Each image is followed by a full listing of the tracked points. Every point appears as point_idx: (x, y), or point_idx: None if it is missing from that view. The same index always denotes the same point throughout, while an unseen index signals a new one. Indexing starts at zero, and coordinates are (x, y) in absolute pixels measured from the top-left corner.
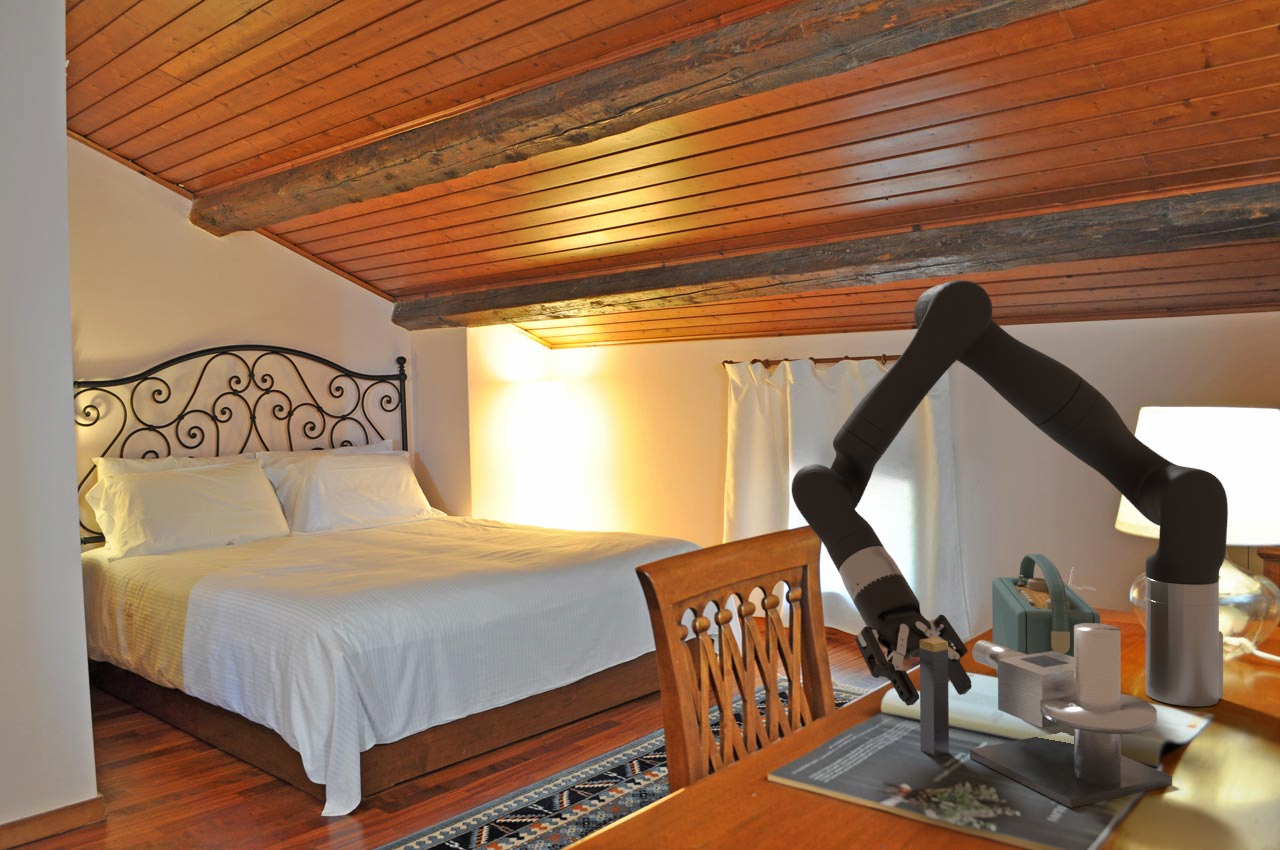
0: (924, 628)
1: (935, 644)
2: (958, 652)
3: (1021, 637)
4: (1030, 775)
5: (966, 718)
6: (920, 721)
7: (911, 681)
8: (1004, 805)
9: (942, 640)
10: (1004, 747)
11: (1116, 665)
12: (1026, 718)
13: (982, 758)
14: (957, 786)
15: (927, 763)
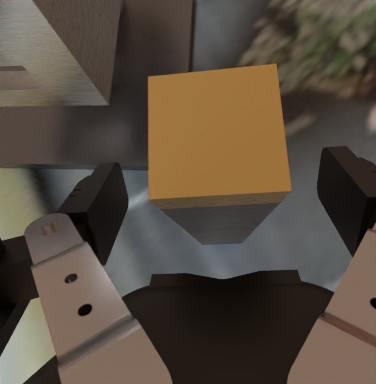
0: (101, 355)
1: (255, 69)
2: (3, 254)
3: None
4: (178, 40)
5: (27, 347)
6: (245, 238)
7: (346, 169)
8: (271, 10)
9: (160, 108)
10: (119, 147)
11: None
12: (116, 18)
13: None
14: (290, 85)
15: None
